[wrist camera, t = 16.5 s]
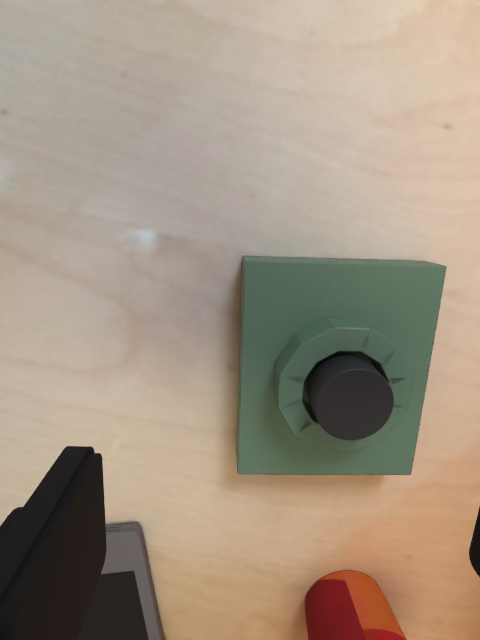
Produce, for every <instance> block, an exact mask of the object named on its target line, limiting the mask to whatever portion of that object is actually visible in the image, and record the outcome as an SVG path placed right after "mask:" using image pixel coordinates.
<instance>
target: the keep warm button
mask: <svg viewBox="0 0 480 640" xmlns="http://www.w3.org/2000/svg"><path fill="white" fill-rule="evenodd" d="M307 394H308V400H309V403H310V405H311V407H312V410H313V412H314V414H315V416H316V418H317V421H318V423H319V424H320V426H321V427H322V428H323V429H324V430H325V431H326V432H327V433H328V434H330V435H332V436H334V437H336V438H339V439H343V440H359V439H363V438H366V437H369V436H371V435H373V434H374V433H376V432H377V431H379V430H380V429H381V428H382V427H383V426H384V425H385V424H386V422H387V421H388V419H389V417H390V415H391V413H392V410H393V404H394V398H393V392H392V389H391V387H390V385H389V383H388V382H387V380H386V379H385V378H384V377H383V376H382V375H381V374H380V373H379V372H378V371H377V370H376V369H375V368H374V367H373V366H372V365H371V364H370V363H369V362H368V361H366V360H364V359H362V358H360V357H357V356H352V355H342V356H337V357H334V358H331V359H329V360H327V361H325V362H324V363H322V364H321V365H320V366H319V367H318V368H317V369H316V370H315V371H314V373H313V374H312V376H311V378H310V381H309V384H308V391H307Z"/></svg>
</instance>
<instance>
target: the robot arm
mask: <svg viewBox="0 0 480 640" xmlns="http://www.w3.org/2000/svg"><path fill="white" fill-rule="evenodd" d="M469 557H470V561H471V564H472V566H473V568H474V570H475V571H476V573H477V574H478V576H479V577H480V508H479V512H478V516H477V520H476V525H475V529H474V533H473V537H472V541H471V546H470V550H469ZM105 558H106V528H105V507H104V487H103V466H102V456H101V454H100V453H94V449H93V447H79V446H68V447H66V448H65V449H64V450H63V451H62V453H61V454H60V456H59V457H58V458H57V460H56V461H55V463H54V464H53V466H52V467H51V468H50V470H49V471H48V473H47V474H46V476H45V477H44V478H43V480H42V481H41V483H40V484H39V486H38V487H37V488H36V490H35V491H34V493H33V494H32V496H31V497H30V498H29V500H28V501H27V503H26V504H25V505H24V507H18V508H16V509H14V510H13V511H12V512H11V513H10V514H9V515H8V517H7V518H6V519H5V521H4V522H3V524H2V525H1V526H0V640H78V637H79V635H80V632H81V629H82V626H83V623H84V620H85V617H86V615H87V612H88V609H89V606H90V603H91V600H92V598H93V595H94V592H95V589H96V586H97V583H98V581H99V578H100V575H101V572H102V569H103V566H104V563H105Z"/></svg>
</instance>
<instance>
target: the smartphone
mask: <svg viewBox="0 0 480 640" xmlns="http://www.w3.org/2000/svg"><path fill="white" fill-rule="evenodd" d="M105 528H106V558H105V563H104V566H103V569H102V572H101V575H100V578H99V581H98V583H97V586H96V589H95V592H94V595H93V598H92V600H91V603H90V606H89V609H88V612H87V615H86V617H85V620H84V623H83V626H82V629H81V632H80V635H79V637H78V640H164V638H163V633H162V628H161V623H160V618H159V613H158V608H157V603H156V598H155V593H154V588H153V583H152V578H151V572H150V567H149V562H148V557H147V552H146V547H145V542H144V537H143V532H142V529H141V527H140V525H139V524H137V523H127V524H118V525H109V526H105Z"/></svg>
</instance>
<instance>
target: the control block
mask: <svg viewBox="0 0 480 640" xmlns="http://www.w3.org/2000/svg"><path fill="white" fill-rule="evenodd" d="M445 272H446V266H444V265H440V264H435V263H431V262H427V261H408V260H373V259H337V258H302V257H267V256H243V266H242V296H241V325H240V355H239V385H238V415H237V445H236V456H237V473H238V474H295V475H411V472H412V466H413V460H414V454H415V448H416V443H417V437H418V431H419V425H420V419H421V413H422V407H423V402H424V396H425V390H426V384H427V378H428V372H429V366H430V360H431V355H432V349H433V343H434V337H435V331H436V325H437V319H438V314H439V308H440V302H441V296H442V290H443V284H444V278H445ZM342 355H352V356H357V357H360V358H362V359H364V360H366V361H368V362H369V363H370V364H371V365H372V366H373V367H374V368H375V369H376V370H377V371H378V372H379V373H380V374H381V375H382V376H383V377H384V378H385V379H386V380H387V382H388V383H389V385H390V387H391V389H392V392H393V398H394V404H393V410H392V413H391V415H390V417H389V419H388V421H387V422H386V424H385V425H384V426H383V427H382V428H381V429H380V430H379V431H377V432H376V433H374V434H373V435H371V436H369V437H366V438H363V439H359V440H343V439H339V438H336V437H334V436H332V435H330V434H328V433H327V432H326V431H325V430H324V429H323V428H322V427H321V426H320V424H319V423H318V421H317V418H316V416H315V414H314V412H313V410H312V407H311V405H310V403H309V400H308V394H307V391H308V384H309V381H310V378H311V376H312V374H313V373H314V371H315V370H316V369H317V368H318V367H319V366H320V365H321V364H322V363H324V362H325V361H327V360H329V359H331V358H334V357H337V356H342Z"/></svg>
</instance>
